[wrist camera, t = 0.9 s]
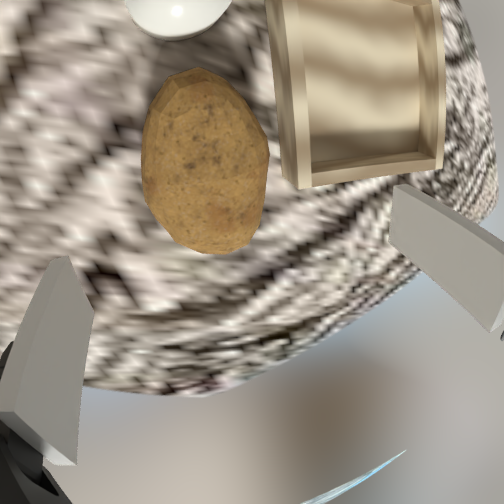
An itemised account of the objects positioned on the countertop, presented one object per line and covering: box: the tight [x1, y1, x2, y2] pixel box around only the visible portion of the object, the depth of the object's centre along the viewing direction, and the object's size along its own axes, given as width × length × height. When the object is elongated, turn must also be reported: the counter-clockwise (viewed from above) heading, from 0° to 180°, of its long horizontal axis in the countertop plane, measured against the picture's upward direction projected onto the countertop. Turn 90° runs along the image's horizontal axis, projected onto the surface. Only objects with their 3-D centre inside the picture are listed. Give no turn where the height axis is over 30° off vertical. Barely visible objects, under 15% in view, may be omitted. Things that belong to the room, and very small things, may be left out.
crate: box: [265, 0, 446, 189], centre depth 23 cm, size 19×17×4 cm
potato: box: [141, 67, 270, 254], centre depth 22 cm, size 10×14×8 cm
